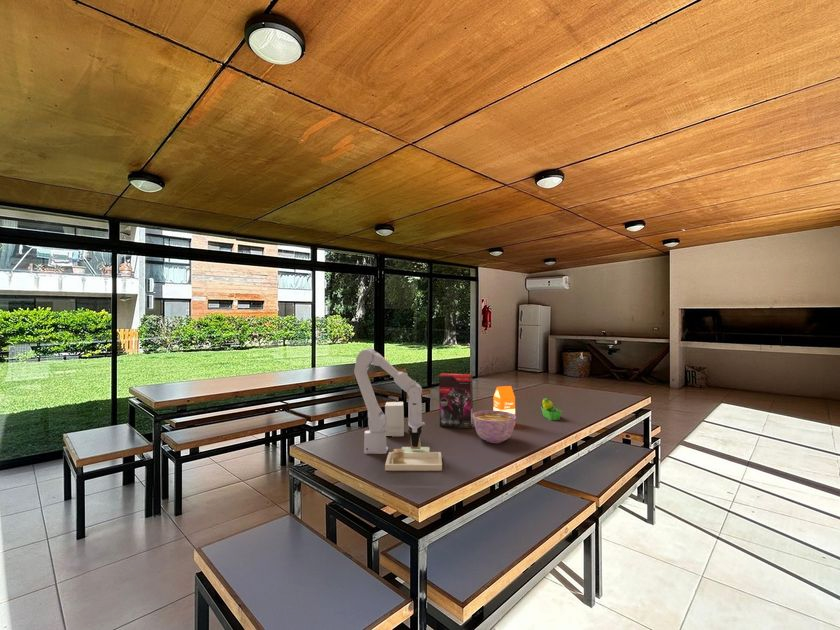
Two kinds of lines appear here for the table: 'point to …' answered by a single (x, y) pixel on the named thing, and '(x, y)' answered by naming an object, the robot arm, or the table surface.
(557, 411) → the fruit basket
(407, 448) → the pad
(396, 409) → the supplement box
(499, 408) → the orange juice
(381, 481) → the table surface
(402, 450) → the plain block
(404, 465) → the tray
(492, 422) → the bowl of food
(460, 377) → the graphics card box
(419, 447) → the labelled block
